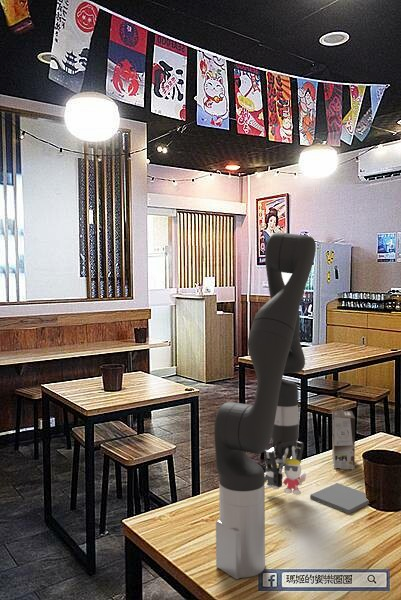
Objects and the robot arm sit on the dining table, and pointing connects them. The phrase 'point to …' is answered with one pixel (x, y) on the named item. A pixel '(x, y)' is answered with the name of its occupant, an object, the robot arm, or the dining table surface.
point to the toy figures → (288, 476)
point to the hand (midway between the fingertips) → (284, 483)
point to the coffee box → (343, 439)
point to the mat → (341, 498)
